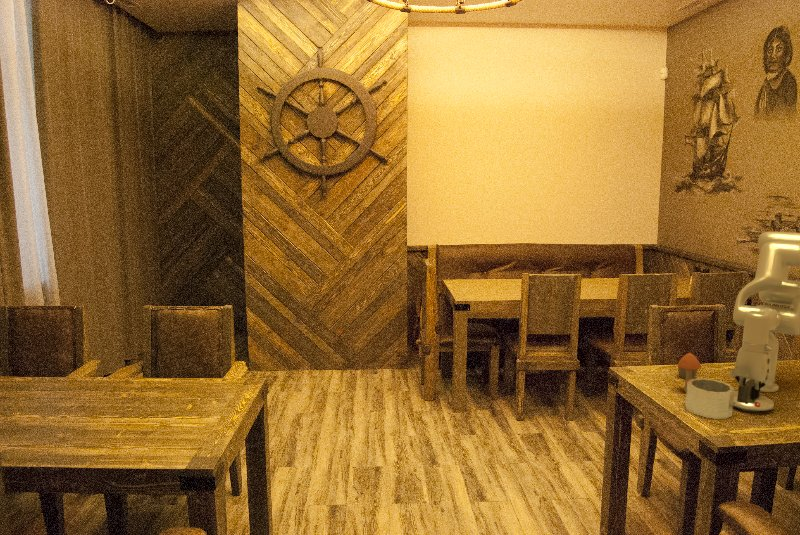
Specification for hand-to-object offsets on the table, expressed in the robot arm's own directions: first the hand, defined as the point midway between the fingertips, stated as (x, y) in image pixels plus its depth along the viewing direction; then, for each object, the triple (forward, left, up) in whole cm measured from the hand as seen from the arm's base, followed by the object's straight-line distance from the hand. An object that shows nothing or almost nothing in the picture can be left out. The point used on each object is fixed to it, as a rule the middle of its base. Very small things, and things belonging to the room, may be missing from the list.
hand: (748, 397), depth 211 cm
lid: (0, 0, -3) cm, 3 cm away
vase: (-12, -27, -4) cm, 30 cm away
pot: (+15, -7, -3) cm, 17 cm away
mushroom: (+3, -20, -4) cm, 21 cm away
